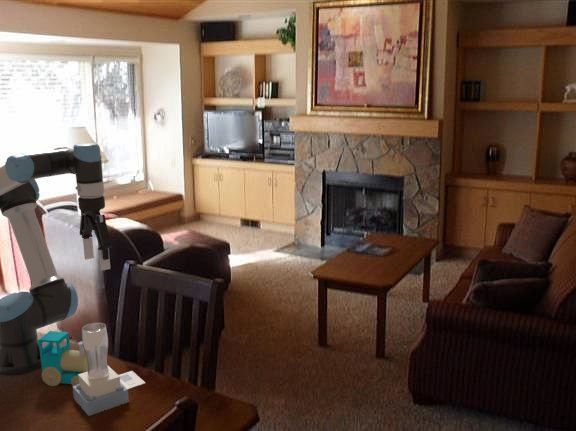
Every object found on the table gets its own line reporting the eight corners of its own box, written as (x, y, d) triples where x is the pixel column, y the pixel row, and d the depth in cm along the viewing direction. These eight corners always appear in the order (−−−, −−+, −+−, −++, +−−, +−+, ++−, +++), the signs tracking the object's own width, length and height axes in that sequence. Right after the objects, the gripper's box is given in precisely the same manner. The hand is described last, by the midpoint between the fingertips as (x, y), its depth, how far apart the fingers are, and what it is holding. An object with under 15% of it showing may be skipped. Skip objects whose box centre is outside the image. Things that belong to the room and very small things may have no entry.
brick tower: (73, 398, 183) (71, 374, 181) (112, 385, 190) (110, 361, 188) (88, 416, 174) (85, 390, 172) (128, 401, 181) (126, 376, 179)
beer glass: (81, 380, 177) (76, 331, 174) (92, 368, 184) (87, 321, 180) (104, 381, 176) (100, 332, 173) (114, 370, 183) (110, 322, 180)
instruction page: (111, 378, 195) (111, 377, 195) (132, 371, 199) (132, 370, 199) (124, 390, 187) (124, 389, 187) (145, 383, 191) (145, 382, 191)
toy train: (92, 389, 188) (88, 344, 185) (42, 385, 191) (37, 340, 187) (104, 377, 196) (100, 333, 192) (56, 373, 199) (51, 330, 195)
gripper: (64, 191, 192) (71, 256, 197) (93, 204, 172) (100, 277, 177) (88, 188, 196) (94, 252, 201) (119, 200, 177) (125, 271, 182)
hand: (97, 264), depth 189 cm, fingers open, 13 cm apart
